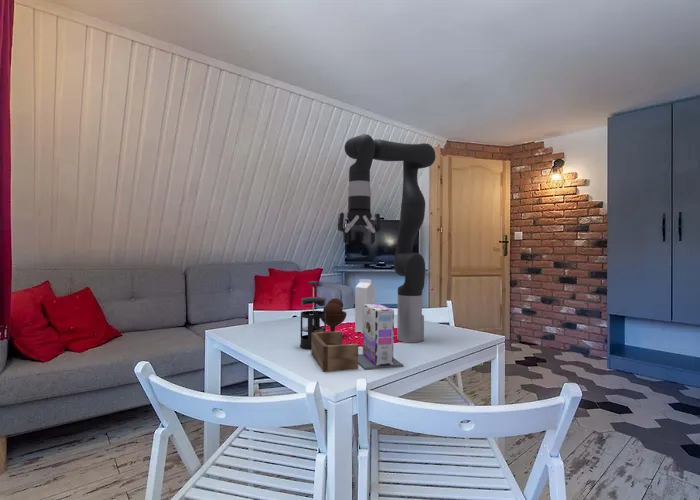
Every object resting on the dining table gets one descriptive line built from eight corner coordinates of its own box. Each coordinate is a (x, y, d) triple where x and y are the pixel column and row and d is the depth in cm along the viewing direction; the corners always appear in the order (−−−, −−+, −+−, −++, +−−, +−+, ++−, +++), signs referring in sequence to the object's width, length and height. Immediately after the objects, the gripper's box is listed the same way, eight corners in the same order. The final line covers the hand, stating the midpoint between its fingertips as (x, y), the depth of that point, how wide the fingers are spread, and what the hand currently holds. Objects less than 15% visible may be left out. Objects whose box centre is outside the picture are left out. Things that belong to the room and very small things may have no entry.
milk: (363, 330, 169) (363, 278, 169) (375, 331, 165) (375, 279, 165) (354, 332, 164) (355, 279, 164) (366, 334, 160) (367, 279, 160)
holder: (341, 351, 133) (341, 331, 132) (358, 368, 114) (358, 344, 114) (311, 353, 130) (311, 332, 130) (323, 371, 111) (323, 346, 111)
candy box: (394, 365, 116) (394, 309, 116) (375, 366, 114) (375, 309, 114) (379, 353, 129) (379, 302, 129) (361, 354, 128) (362, 303, 127)
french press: (322, 350, 134) (323, 282, 134) (296, 349, 135) (296, 282, 135) (329, 342, 145) (330, 280, 145) (305, 341, 147) (305, 279, 147)
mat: (386, 354, 130) (386, 352, 130) (403, 366, 116) (403, 364, 116) (351, 356, 126) (351, 355, 126) (364, 369, 113) (364, 367, 113)
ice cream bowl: (321, 333, 162) (321, 296, 162) (348, 334, 160) (348, 297, 160) (315, 339, 151) (315, 299, 151) (344, 340, 150) (344, 300, 150)
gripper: (375, 198, 138) (375, 244, 138) (336, 196, 134) (335, 244, 134) (383, 195, 131) (383, 244, 131) (341, 193, 127) (341, 244, 127)
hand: (359, 244), depth 132 cm, fingers open, 8 cm apart
